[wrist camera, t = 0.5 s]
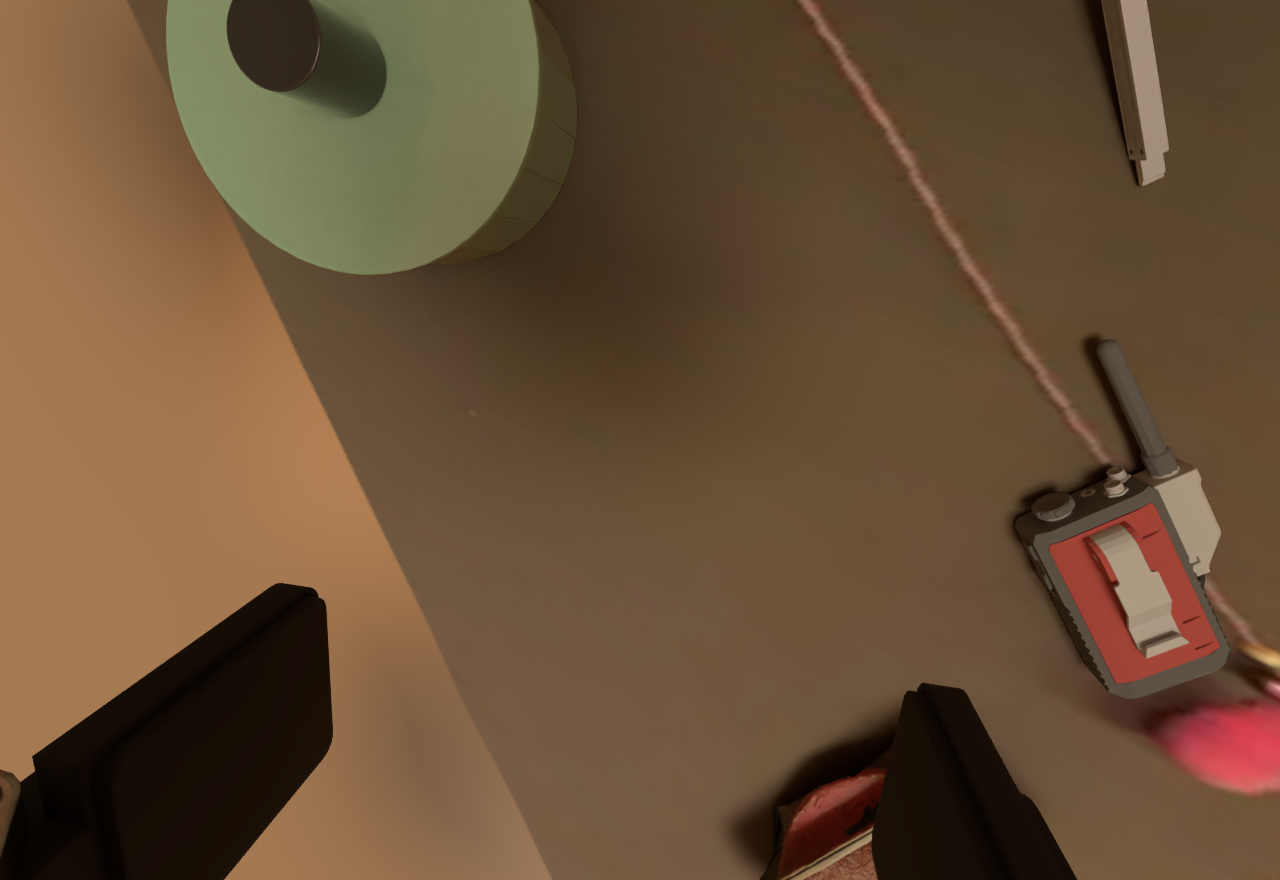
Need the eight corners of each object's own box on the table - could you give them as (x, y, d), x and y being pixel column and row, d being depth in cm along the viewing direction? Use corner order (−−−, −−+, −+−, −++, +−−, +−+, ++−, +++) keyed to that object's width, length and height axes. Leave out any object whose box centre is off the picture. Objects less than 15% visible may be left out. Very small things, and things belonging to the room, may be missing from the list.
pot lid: (155, -143, 27) (10, -242, 22) (542, -166, 25) (490, -282, 20) (216, 269, 32) (109, 272, 26) (549, 279, 30) (507, 284, 24)
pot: (290, -45, 35) (156, -137, 27) (577, -55, 33) (525, -158, 25) (322, 259, 39) (214, 259, 31) (578, 265, 37) (534, 268, 29)
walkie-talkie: (1249, 631, 37) (1112, 327, 34) (1315, 679, 33) (1165, 337, 30) (1092, 688, 40) (949, 407, 36) (1135, 739, 35) (977, 427, 32)
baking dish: (726, 777, 47) (711, 925, 38) (954, 681, 40) (1002, 838, 31) (845, 896, 50) (857, 1060, 41) (1079, 827, 43) (1156, 1009, 34)
